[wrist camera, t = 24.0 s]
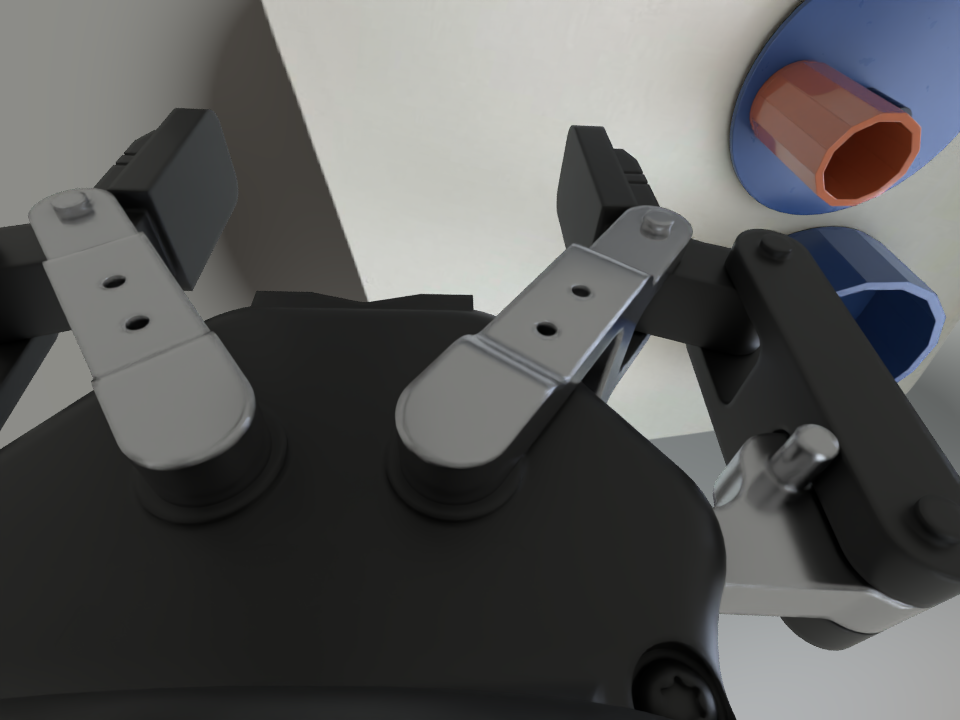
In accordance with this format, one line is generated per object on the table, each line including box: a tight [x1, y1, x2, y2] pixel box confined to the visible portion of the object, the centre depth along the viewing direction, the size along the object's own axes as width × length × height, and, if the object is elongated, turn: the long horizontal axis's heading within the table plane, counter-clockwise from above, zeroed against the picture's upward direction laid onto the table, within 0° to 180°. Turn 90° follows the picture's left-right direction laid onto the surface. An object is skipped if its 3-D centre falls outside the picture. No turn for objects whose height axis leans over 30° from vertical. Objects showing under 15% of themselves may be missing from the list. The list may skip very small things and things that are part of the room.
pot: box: [788, 226, 946, 383], centre depth 51 cm, size 18×18×8 cm
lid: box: [730, 0, 960, 215], centre depth 38 cm, size 19×19×5 cm
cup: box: [750, 60, 921, 206], centre depth 36 cm, size 6×6×10 cm
